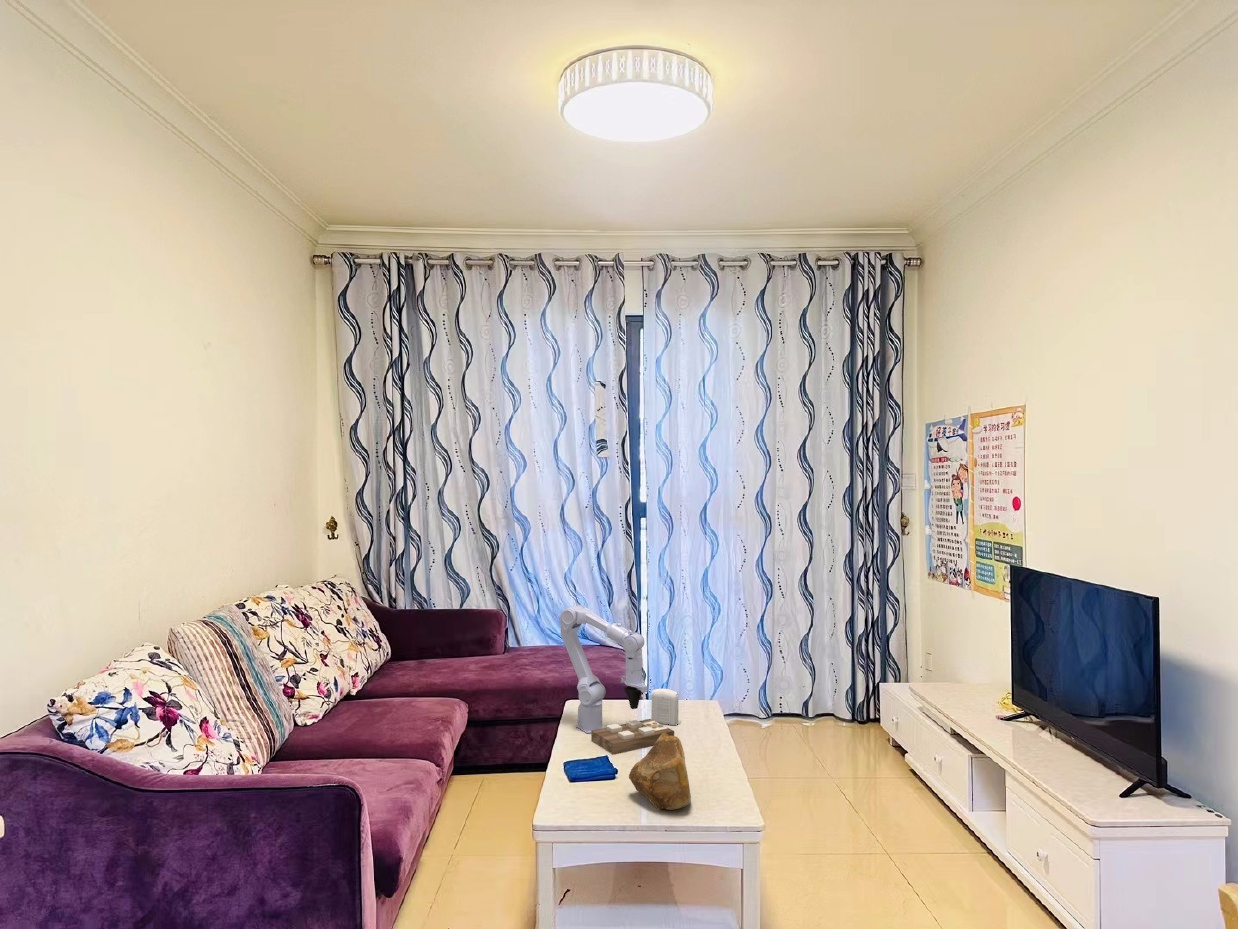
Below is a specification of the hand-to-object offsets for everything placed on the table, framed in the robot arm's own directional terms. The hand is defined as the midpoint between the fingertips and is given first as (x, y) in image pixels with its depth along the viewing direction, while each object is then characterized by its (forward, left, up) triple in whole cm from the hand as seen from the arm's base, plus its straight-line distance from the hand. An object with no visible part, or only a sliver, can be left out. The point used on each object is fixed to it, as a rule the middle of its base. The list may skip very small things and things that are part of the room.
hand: (634, 708), depth 260 cm
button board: (+4, -3, -10) cm, 11 cm away
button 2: (+8, -8, -6) cm, 13 cm away
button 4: (+8, 0, -6) cm, 10 cm away
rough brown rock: (+46, -20, -10) cm, 51 cm away
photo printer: (-6, +17, -10) cm, 21 cm away
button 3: (0, 0, -6) cm, 6 cm away
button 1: (0, -8, -6) cm, 10 cm away
